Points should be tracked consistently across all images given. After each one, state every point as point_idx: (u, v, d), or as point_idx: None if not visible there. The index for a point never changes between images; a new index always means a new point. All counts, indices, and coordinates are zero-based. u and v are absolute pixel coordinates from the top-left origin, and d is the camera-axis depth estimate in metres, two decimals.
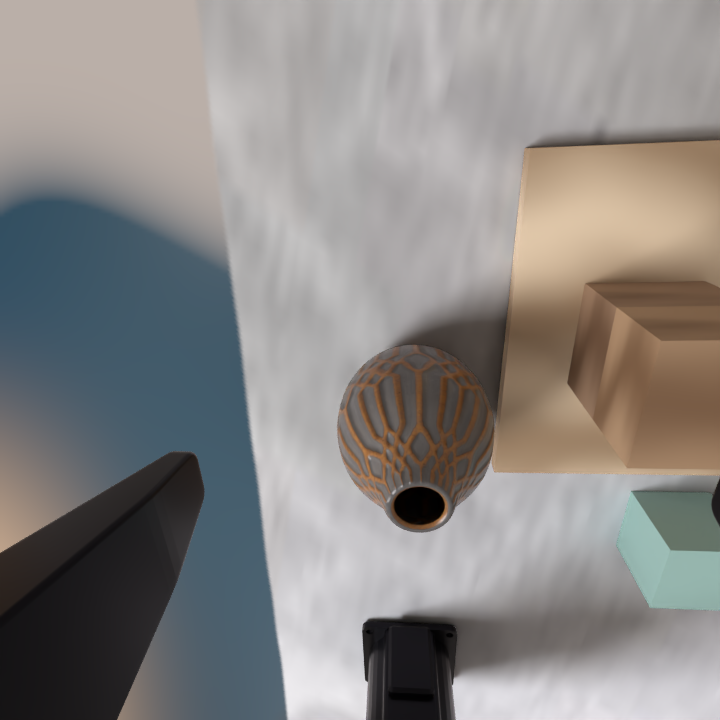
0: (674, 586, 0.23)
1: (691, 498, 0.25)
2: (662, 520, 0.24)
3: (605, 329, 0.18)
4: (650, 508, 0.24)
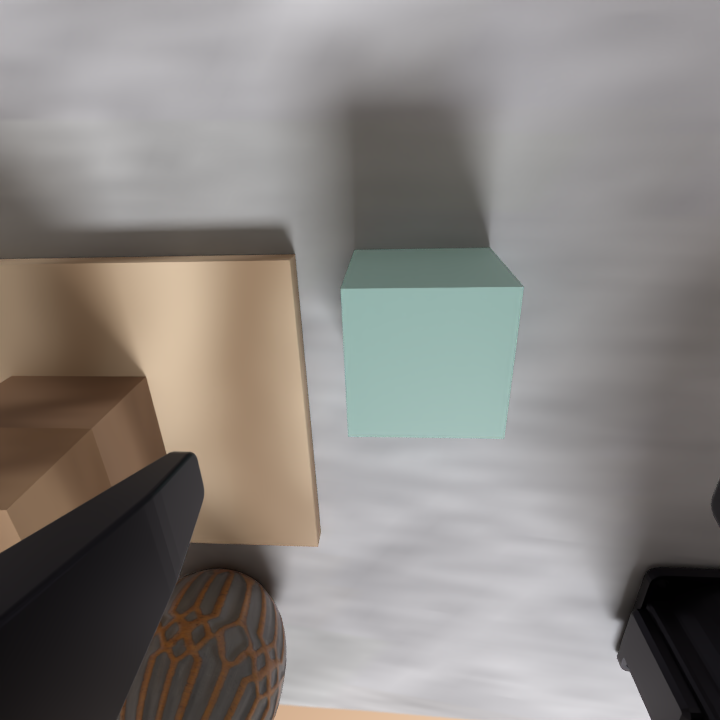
0: (441, 412, 0.12)
1: None
2: None
3: None
4: None
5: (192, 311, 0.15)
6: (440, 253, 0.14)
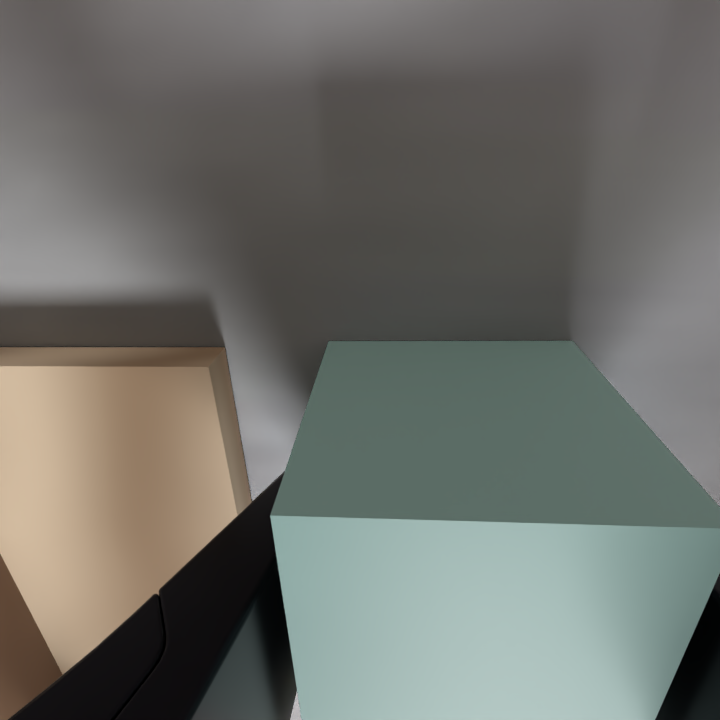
0: None
1: None
2: None
3: None
4: None
5: (49, 443, 0.09)
6: (486, 359, 0.07)
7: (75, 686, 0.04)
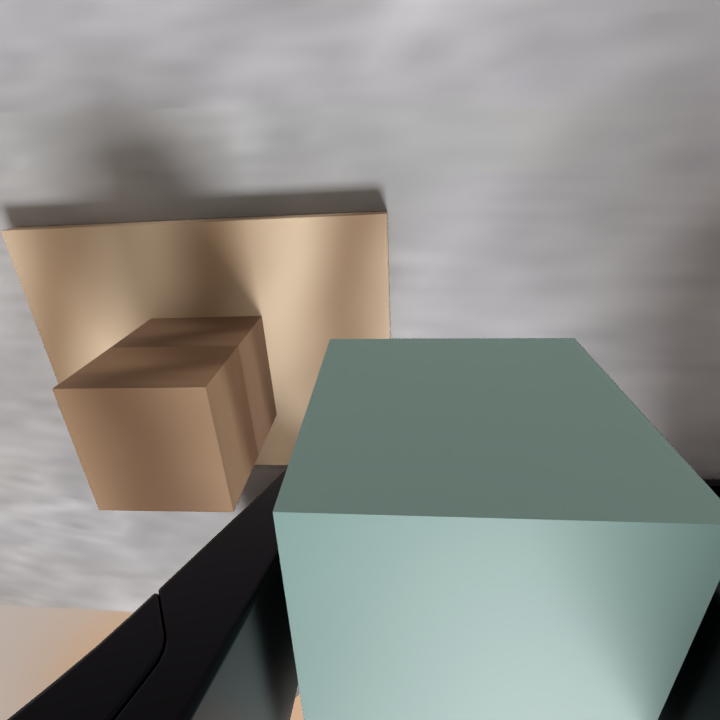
0: None
1: None
2: None
3: None
4: None
5: (304, 258, 0.18)
6: (488, 357, 0.07)
7: (75, 686, 0.04)
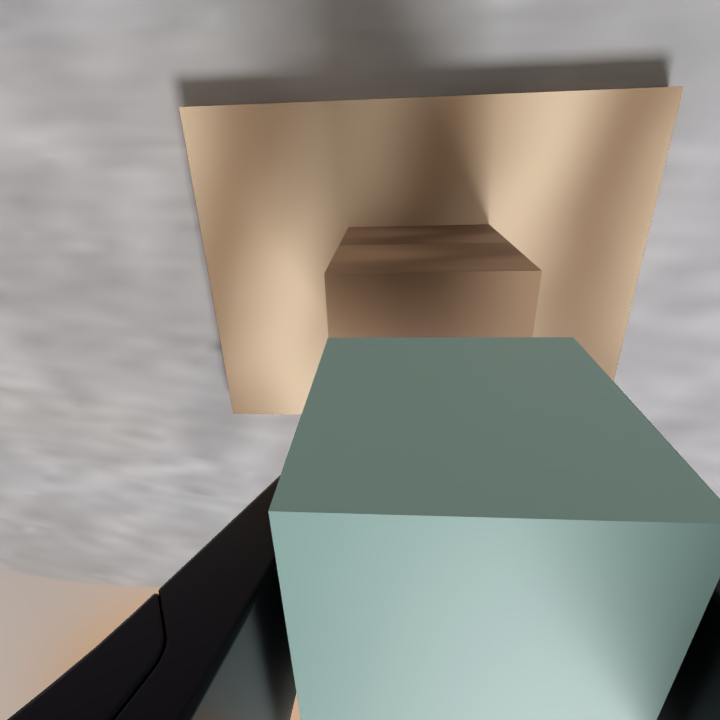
0: None
1: None
2: None
3: None
4: None
5: (562, 147, 0.15)
6: (486, 355, 0.07)
7: (75, 686, 0.04)
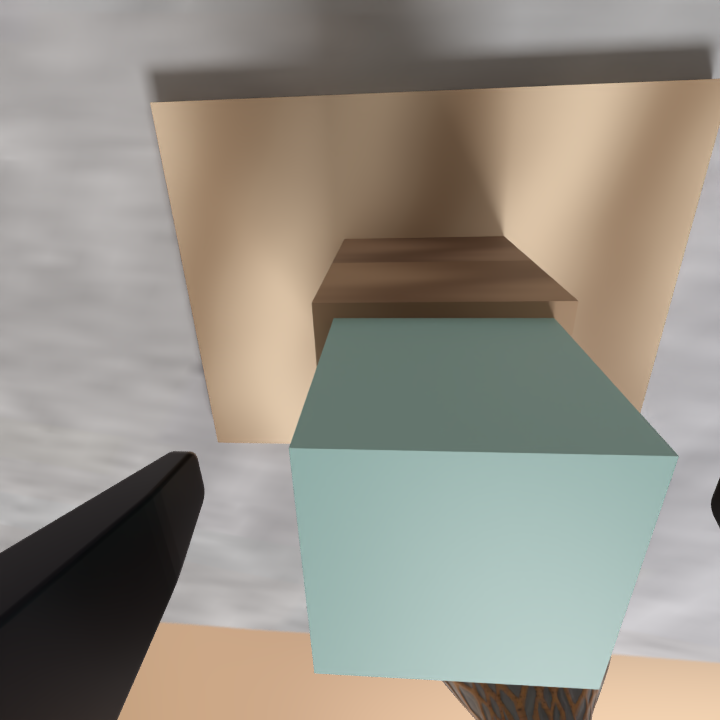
0: (485, 648, 0.06)
1: None
2: None
3: None
4: None
5: (589, 149, 0.13)
6: (476, 332, 0.08)
7: None
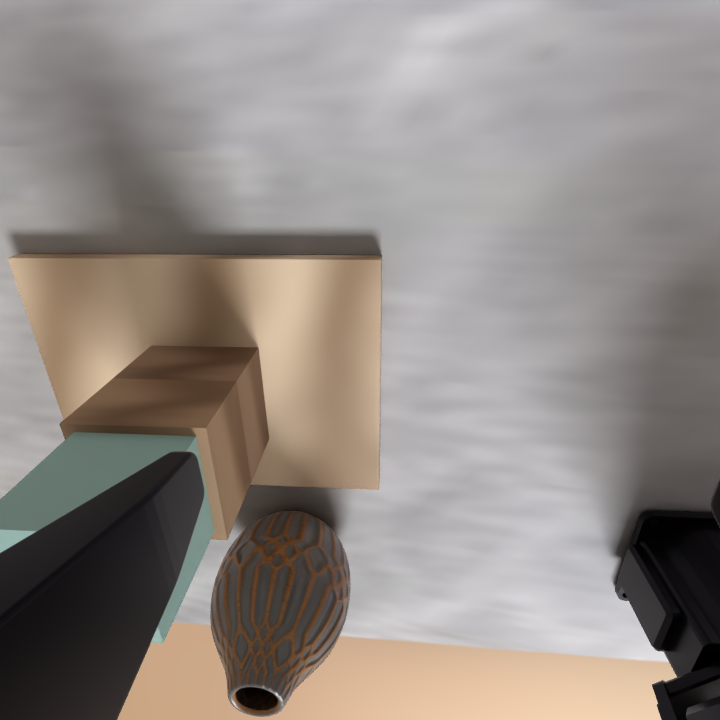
0: None
1: None
2: None
3: None
4: None
5: (301, 297, 0.19)
6: (138, 448, 0.14)
7: None
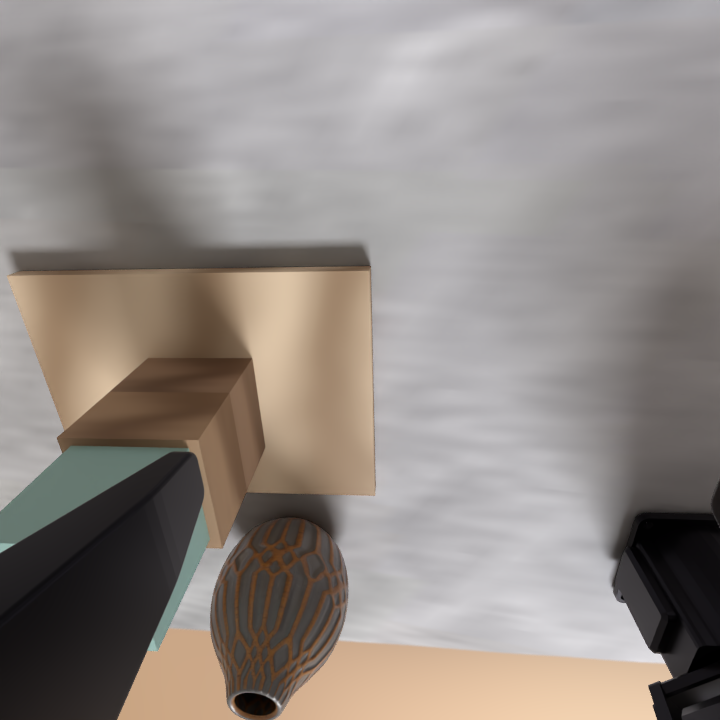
0: None
1: None
2: None
3: None
4: None
5: (293, 308, 0.20)
6: (133, 461, 0.15)
7: None
